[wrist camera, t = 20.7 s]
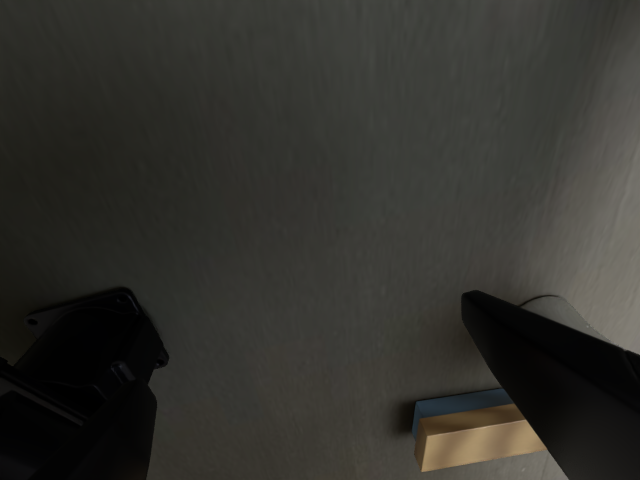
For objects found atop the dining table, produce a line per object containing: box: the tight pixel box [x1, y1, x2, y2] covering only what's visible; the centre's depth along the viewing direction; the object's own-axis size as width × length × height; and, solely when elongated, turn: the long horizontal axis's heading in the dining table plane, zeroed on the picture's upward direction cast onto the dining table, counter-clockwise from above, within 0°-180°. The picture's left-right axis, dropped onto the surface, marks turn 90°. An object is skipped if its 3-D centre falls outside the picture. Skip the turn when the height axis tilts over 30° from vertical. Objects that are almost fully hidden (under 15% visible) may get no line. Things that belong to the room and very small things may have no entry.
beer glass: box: [521, 296, 626, 351], centre depth 21 cm, size 7×7×15 cm
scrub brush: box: [412, 388, 547, 472], centre depth 29 cm, size 13×5×3 cm, turn 92°
